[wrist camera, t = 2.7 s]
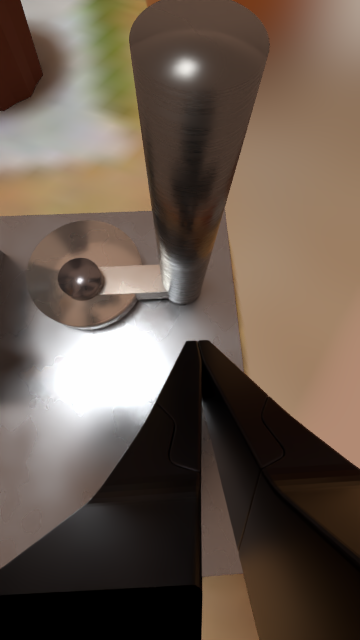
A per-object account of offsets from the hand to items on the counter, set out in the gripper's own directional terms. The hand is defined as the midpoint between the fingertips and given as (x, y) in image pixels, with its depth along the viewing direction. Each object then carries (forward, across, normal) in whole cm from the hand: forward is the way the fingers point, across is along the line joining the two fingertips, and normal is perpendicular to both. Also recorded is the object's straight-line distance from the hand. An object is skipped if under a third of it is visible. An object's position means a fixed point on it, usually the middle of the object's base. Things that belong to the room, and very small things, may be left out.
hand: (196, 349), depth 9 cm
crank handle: (+8, +4, 0) cm, 9 cm away
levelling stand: (+5, +5, +5) cm, 9 cm away
